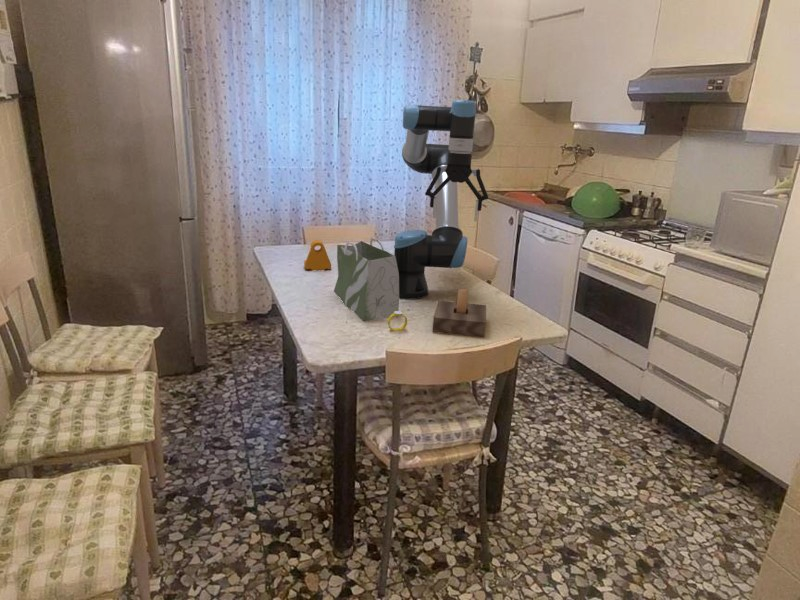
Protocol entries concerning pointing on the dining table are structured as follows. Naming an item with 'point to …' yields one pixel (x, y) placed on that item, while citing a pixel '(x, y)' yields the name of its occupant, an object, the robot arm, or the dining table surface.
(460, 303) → the peg
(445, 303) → the socket block
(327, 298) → the dining table surface
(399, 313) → the yellow ring
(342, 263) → the grocery bag
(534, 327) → the dining table surface
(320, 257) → the bracket
